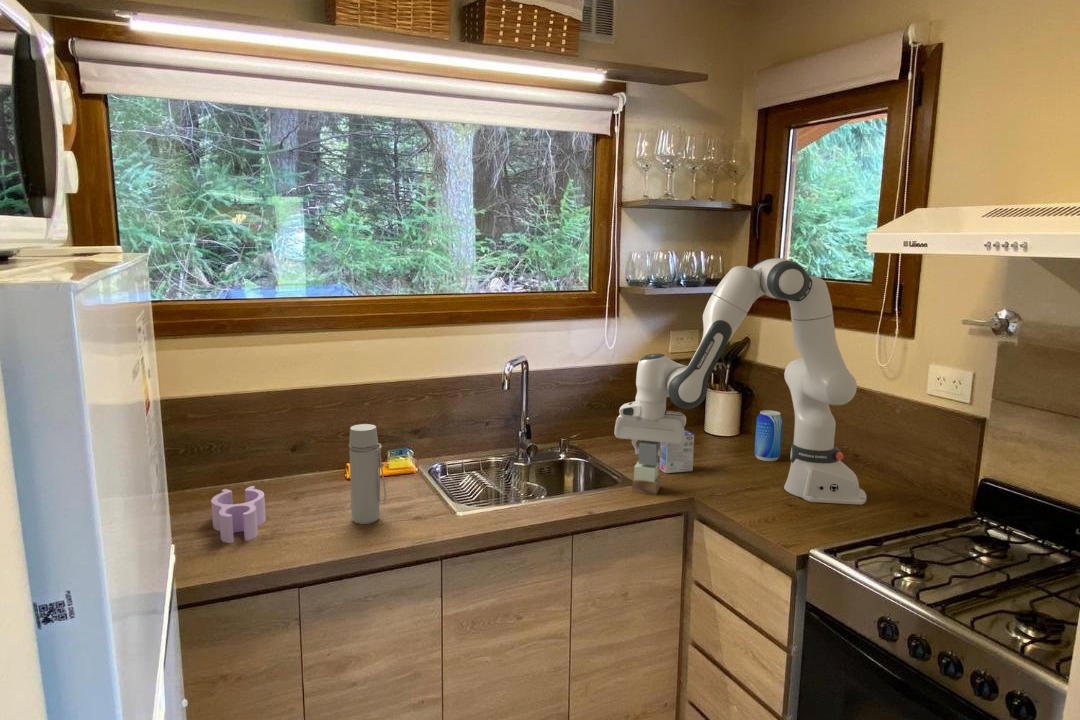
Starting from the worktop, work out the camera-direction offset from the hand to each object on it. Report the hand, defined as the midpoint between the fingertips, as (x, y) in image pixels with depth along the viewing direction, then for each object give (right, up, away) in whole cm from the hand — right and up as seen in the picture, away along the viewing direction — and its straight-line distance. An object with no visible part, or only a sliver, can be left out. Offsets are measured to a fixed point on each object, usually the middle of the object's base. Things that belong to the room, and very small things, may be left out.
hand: (648, 455), depth 206 cm
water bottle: (-76, -14, -23) cm, 81 cm away
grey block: (0, -2, 0) cm, 2 cm away
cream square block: (0, -7, +2) cm, 7 cm away
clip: (-108, -15, -28) cm, 113 cm away
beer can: (+46, -6, +33) cm, 57 cm away
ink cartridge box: (+12, -8, +20) cm, 24 cm away
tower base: (0, -11, +2) cm, 11 cm away
